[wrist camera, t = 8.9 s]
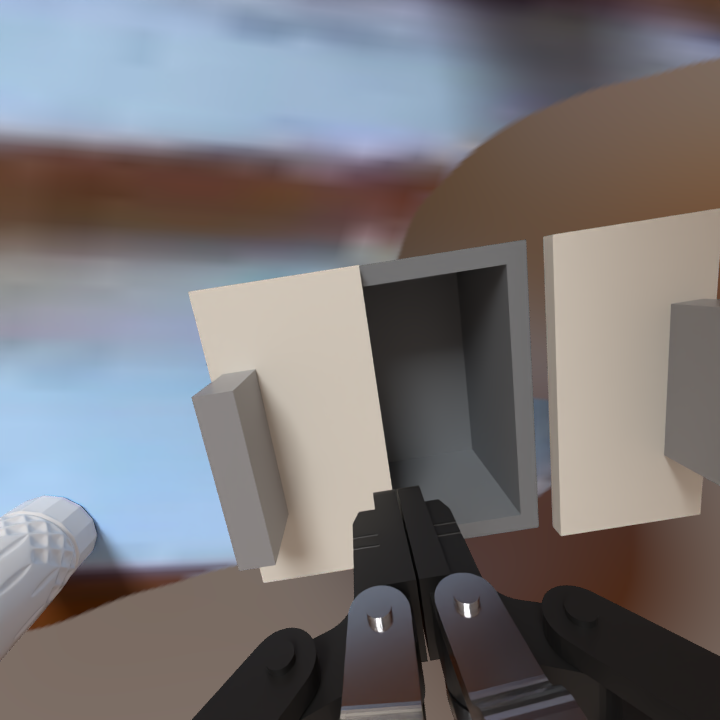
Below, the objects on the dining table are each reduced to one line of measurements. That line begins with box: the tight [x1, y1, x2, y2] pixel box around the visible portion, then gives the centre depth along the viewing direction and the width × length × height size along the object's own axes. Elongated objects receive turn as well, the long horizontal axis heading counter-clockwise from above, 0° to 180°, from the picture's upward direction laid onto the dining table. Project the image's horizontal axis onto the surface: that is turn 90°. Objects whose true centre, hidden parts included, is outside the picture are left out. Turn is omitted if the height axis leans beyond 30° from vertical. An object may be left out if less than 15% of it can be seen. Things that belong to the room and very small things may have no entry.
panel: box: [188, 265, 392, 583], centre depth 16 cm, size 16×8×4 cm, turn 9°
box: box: [359, 240, 539, 539], centre depth 23 cm, size 16×16×9 cm
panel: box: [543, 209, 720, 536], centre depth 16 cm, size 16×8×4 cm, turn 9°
